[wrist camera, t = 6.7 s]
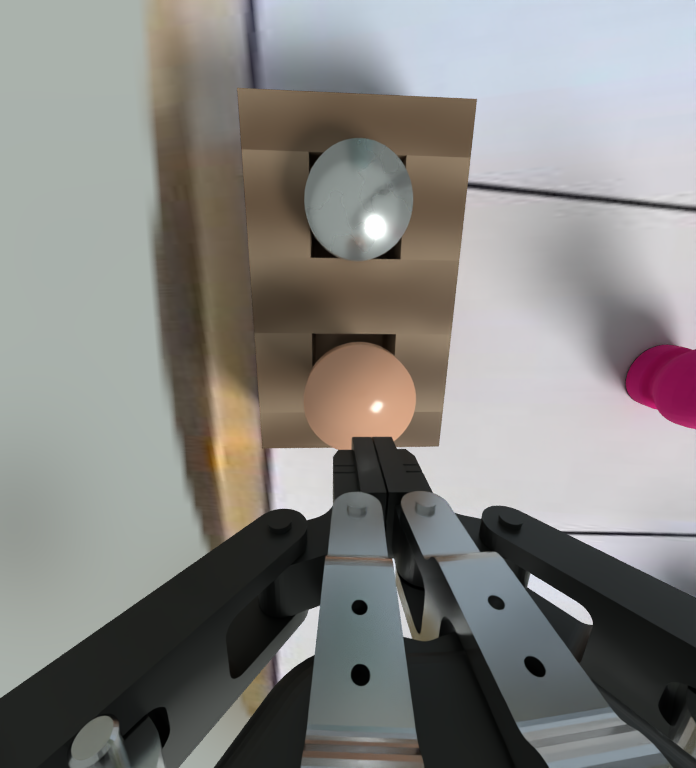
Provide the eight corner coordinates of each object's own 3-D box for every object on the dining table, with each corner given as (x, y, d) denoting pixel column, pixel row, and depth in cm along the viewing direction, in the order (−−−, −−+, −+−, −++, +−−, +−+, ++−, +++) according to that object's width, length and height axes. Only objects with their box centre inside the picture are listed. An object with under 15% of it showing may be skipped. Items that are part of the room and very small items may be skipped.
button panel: (261, 138, 26) (237, 88, 19) (439, 144, 26) (476, 99, 20) (276, 413, 32) (262, 448, 26) (417, 412, 33) (438, 446, 27)
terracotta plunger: (309, 328, 24) (302, 346, 18) (395, 329, 25) (420, 347, 18) (311, 408, 26) (304, 453, 20) (391, 408, 27) (411, 452, 20)
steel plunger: (310, 174, 25) (302, 135, 18) (394, 177, 25) (417, 140, 19) (311, 264, 27) (305, 259, 20) (389, 265, 27) (409, 261, 20)
